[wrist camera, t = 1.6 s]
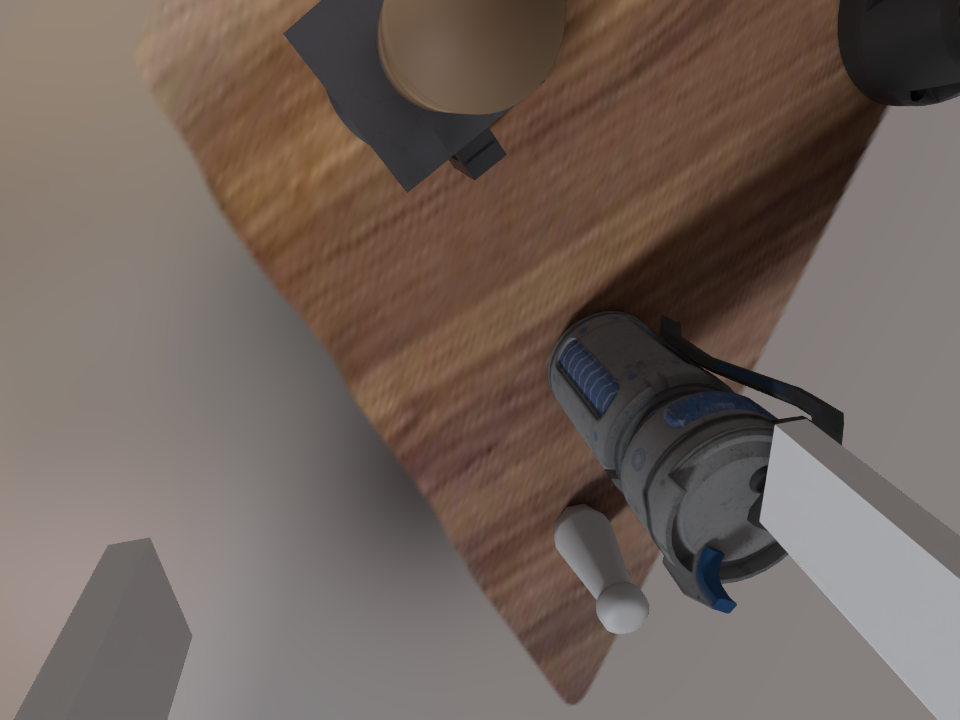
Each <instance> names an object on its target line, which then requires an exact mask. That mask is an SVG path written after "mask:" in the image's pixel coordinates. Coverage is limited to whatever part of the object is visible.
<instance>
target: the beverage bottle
mask: <svg viewBox="0 0 960 720" xmlns="http://www.w3.org/2000/svg"><path fill="white" fill-rule="evenodd" d="M662 337H663V338H664V339H663V338H662ZM667 341H668V342H667ZM671 344H672V345H671ZM700 366H701V367H700ZM702 367H703V368H705V369H707V370H709V371H711V372H713V373H716V374H718V375H720V376H723V377H725V378H728V379H730V380H733V381H735V382H738V383H740V384H743V385H745V386H748V387H750V388H753V389H755V390H757V391H760V392H762V393H765V394H768V395H770V396H772V397H775V398H777V399H780V400H782V401H785V402H787V403H789V404H792V405H794V406H797V407H798V408H800V409H801V410H803V411H804V412H806V413H807V414H809V415H811V417H812V421H811V420H809V419H808V418H806V417H804V416H798V417H791V418H784V419H777V418H776V417H775V416H773V415H771V413H769V412H768V411H766V410H765V409H764V408H762V407H761V406H760V405H758V404H757V403H755V402H754V401H752V400H751V399H749V398H747V397H745V396H742V395H739V394H737V393H734V391H733V390H732V389H731V388H730V387H729V386H728V385H726V384H725V383H724V382H722V381H721V380H720V379H718V378H717V377H716V376H714V375H713V374H711V373H710V372H708V371H706V370H704V369H703V368H702ZM548 380H549V385H550V388H551V391H552V393H553V395H554V396H555V398H556V399H557V401H558V402H559V404H560V405H561V407H562V408H563V410H564V411H565V412H566V414H567V415H568V417H569V418H570V420H571V421H572V423H573V424H574V426H575V427H576V429H577V430H578V431H579V433H580V434H581V436H582V437H583V439H584V440H585V442H586V443H587V445H588V446H589V447H590V449H591V450H592V452H593V453H594V455H595V456H596V458H597V459H598V461H599V462H600V464H601V465H602V466H603V468H604V469H605V471H606V472H607V474H608V475H609V477H610V478H611V480H612V481H613V482H614V484H615V485H616V487H617V488H618V489H619V490H620V491H621V492H622V493H624V496H625V499H626V501H627V503H628V504H629V505H630V507H631V508H632V510H633V511H634V513H635V514H636V516H637V517H638V519H639V520H640V521H641V523H642V524H643V526H644V527H645V529H646V530H647V532H648V533H649V535H650V536H651V538H652V539H653V540H654V542H655V543H656V545H657V546H658V548H659V549H660V550H661V551H662V553H663V554H664V558H663V564H664V566H665V567H666V569H667V570H668V571H669V573H670V575H671V576H672V577H673V579H674V580H675V582H676V583H677V585H678V586H679V588H680V589H681V591H682V592H683V593H684V594H685V595H686V596H688V597H690V598H692V599H694V600H696V601H698V602H700V603H702V604H704V605H706V606H708V607H710V608H712V609H715V610H718V611H721V612H724V613H730V612H731V611H732V610H733V609H734V608H735V607H736V606H737V604H736V603H735V602H734V601H733V600H732V599H731V598H730V597H729V596H728V595H727V593H726V591H725V590H724V588H723V587H722V584H724V583H731V582H738V581H741V580H744V579H747V578H751V577H753V576H755V575H757V574H760V573H762V572H764V571H766V570H767V569H769V568H770V567H772V566H774V565H775V564H777V563H778V562H780V561H781V560H782V559H783V558H784V557H786V556H787V555H788V553H787V552H786V550H785V549H784V548H783V547H782V546H781V545H780V544H779V543H778V542H777V540H776V539H775V538H774V537H773V536H772V535H771V534H770V533H769V532H768V530H767V529H766V528H765V527H764V526H763V525H762V524H761V523H760V514H761V508H762V502H763V496H764V489H765V483H766V477H767V471H768V465H769V458H770V452H771V446H772V440H773V433H774V427H775V424H781V423H786V422H792V421H797V420H803V419H807V420H809V421H810V422H811V423H813V424H814V425H815V426H817V427H818V428H819V429H821V430H822V431H823V432H824V433H826V434H827V435H828V436H830V437H831V438H832V439H834V440H835V441H836V442H838V443H839V444H840V445H841V446H842V437H843V427H844V415H843V412H841V411H839V410H837V409H836V408H834V407H832V406H831V405H829V404H827V403H826V402H824V401H822V400H821V399H819V398H817V397H816V396H814V395H812V394H811V393H809V392H807V391H805V390H803V389H801V388H799V387H796V386H793V385H790V384H787V383H784V382H781V381H779V380H776V379H773V378H770V377H767V376H765V375H761V374H759V373H756V372H753V371H750V370H747V369H745V368H742V367H739V366H736V365H733V364H730V363H727V362H725V361H722V360H719V359H716V358H713V357H711V356H710V355H708V354H707V353H705V352H704V351H702V350H701V349H699V348H698V347H696V346H695V345H693V344H692V343H690V342H689V341H687V340H685V339H684V338H682V336H681V327H680V322H675V321H673V320H671V319H669V318H667V317H665V316H663V315H662V318H661V327H660V336H659V335H658V334H657V333H655V332H654V331H653V330H652V329H651V328H650V327H649V326H648V325H646V324H645V323H644V322H642V321H641V320H639V319H638V318H636V317H635V316H633V315H630V314H627V313H625V312H618V311H603V312H599V313H595V314H592V315H589V316H587V317H585V318H583V319H581V320H579V321H578V322H576V323H575V324H573V325H572V326H570V327H569V328H568V329H567V330H566V331H565V332H564V333H563V335H562V336H561V337H560V339H559V340H558V342H557V343H556V345H555V347H554V349H553V351H552V353H551V357H550V361H549V364H548Z"/></svg>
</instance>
